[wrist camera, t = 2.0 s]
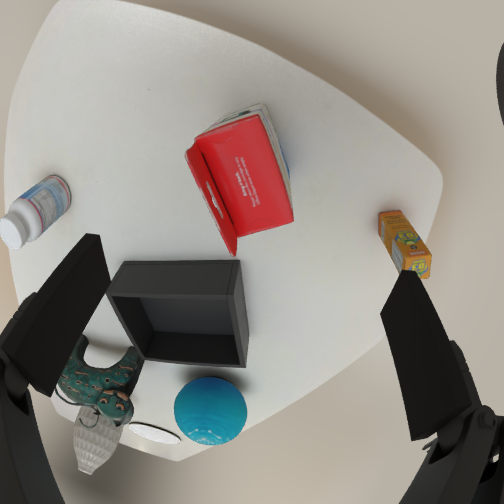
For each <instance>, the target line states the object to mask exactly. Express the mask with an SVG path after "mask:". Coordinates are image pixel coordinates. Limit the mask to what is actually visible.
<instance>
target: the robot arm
mask: <svg viewBox="0 0 504 504" xmlns="http://www.w3.org/2000/svg"><path fill="white" fill-rule="evenodd" d="M110 284H111V279H110V275H109V272H108V268H107V264H106V260H105V256H104V252H103V248H102V243H101V239H100V235H97V234H88V233H86V234H85V235H84V236H83V237H82V238H81V239H80V241H79V242H78V243H77V244H76V245H75V246H74V247H73V249H72V250H71V251H70V252H69V253H68V254H67V256H66V257H65V258H64V259H63V260H62V262H61V263H60V264H59V265H58V266H57V268H56V269H55V270H54V271H53V273H52V274H51V275H50V277H49V278H48V279H47V280H46V282H45V283H44V284H43V286H42V287H41V288H40V290H39V291H38V292H37V293H36V292H33V293H32V294H31V295H30V296H28V297H27V298H26V299H25V300H24V301H23V302H22V304H21V305H20V306H19V308H18V311H16V312H15V314H14V315H13V318H11V319H10V321H9V322H8V324H7V326H6V327H5V328H4V330H3V332H2V333H1V335H0V504H65V502H64V500H63V497H62V496H61V493H60V491H59V488H58V486H57V483H56V481H55V478H54V476H53V473H52V470H51V468H50V465H49V462H48V459H47V456H46V453H45V450H44V447H43V444H42V441H41V437H40V433H39V430H38V426H37V422H36V418H35V414H34V410H33V405H32V400H31V395H30V392H29V390H28V388H27V387H28V385H29V383H30V384H31V385H32V386H33V387H34V389H35V390H36V391H38V392H40V393H42V394H44V395H46V396H48V397H50V398H51V396H52V394H53V391H54V389H55V387H56V385H57V383H58V380H59V378H60V376H61V374H62V372H63V370H64V368H65V366H66V364H67V362H68V360H69V358H70V356H71V354H72V352H73V350H74V348H75V346H76V344H77V342H78V340H79V338H80V336H81V335H82V333H83V331H84V329H85V327H86V325H87V324H88V322H89V320H90V318H91V316H92V315H93V313H94V311H95V309H96V308H97V306H98V304H99V303H100V301H101V299H102V297H103V296H104V294H105V292H106V291H107V289H108V287H109V286H110ZM380 315H381V319H382V322H383V325H384V328H385V332H386V335H387V338H388V341H389V345H390V349H391V353H392V356H393V359H394V364H395V367H396V371H397V375H398V379H399V383H400V388H401V392H402V396H403V401H404V405H405V410H406V415H407V420H408V425H409V430H410V436H411V441H415V440H420V439H425V438H428V437H429V436H431V435H432V434H434V433H435V432H437V436H438V437H437V438H436V439H434V440H433V441H431V442H430V443H428V444H426V445H425V446H424V447H423V449H422V450H425V449H427V448H429V447H430V446H431V447H430V449H429V450H428V451H427V453H428V454H427V456H426V457H425V459H424V461H423V463H422V465H421V467H420V469H419V471H418V472H417V474H416V476H415V478H414V480H413V481H412V483H411V485H410V486H409V488H408V490H407V491H406V493H405V495H404V496H403V498H402V499H401V501H400V502H399V504H504V416H497V415H495V413H494V411H493V410H492V409H491V408H490V407H488V406H486V405H482V404H481V401H480V399H479V395H478V392H477V390H476V387H475V384H474V381H473V378H472V376H471V373H470V372H469V368H468V365H467V363H466V360H465V358H464V355H463V352H462V350H461V349H460V348H459V346H458V345H457V344H456V342H455V341H454V340H452V341H449V339H448V336H447V334H446V332H445V329H444V327H443V325H442V323H441V320H440V318H439V316H438V314H437V312H436V310H435V308H434V305H433V304H432V301H431V300H430V298H429V295H428V293H427V291H426V289H425V288H424V286H423V284H422V282H421V280H420V278H419V276H418V274H417V272H416V271H412V270H403V269H402V270H401V273H400V275H399V277H398V279H397V281H396V283H395V285H394V287H393V289H392V291H391V293H390V295H389V297H388V299H387V301H386V303H385V305H384V307H383V309H382V311H381V313H380ZM497 454H499V459H498V461H496V462H493V457H494V456H495V455H497Z"/></svg>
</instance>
